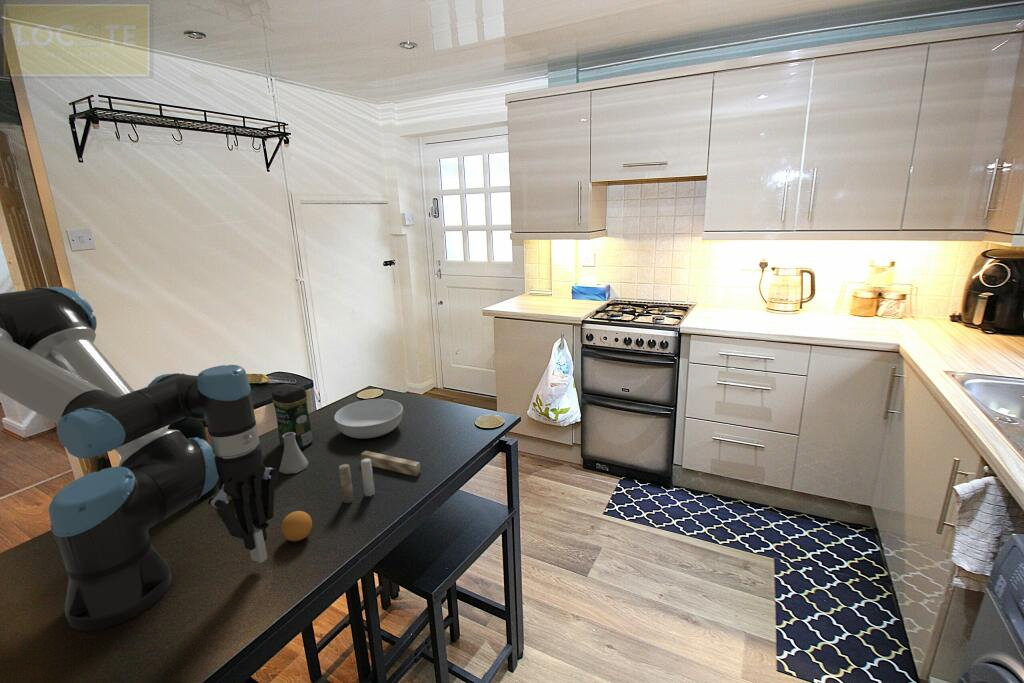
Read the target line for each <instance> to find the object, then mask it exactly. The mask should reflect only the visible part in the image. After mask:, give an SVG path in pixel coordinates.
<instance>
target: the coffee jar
mask: <svg viewBox="0 0 1024 683" xmlns="http://www.w3.org/2000/svg"><path fill="white" fill-rule="evenodd" d="M271 400H272V403H273V407H274V410H275V416H276V423H277V424H276V425H277V431H278V432H277V433H278V438H279V439H278V440H279V443H280V445H281V446H282V447H284V439H283V438H282V436H283V435H284V434H286V433H288V432H294V433H296V435H295V440H296V443H297V445H298V447H299V449H302V448H305V447H308V446H309V445H310V444H312V443H313V442H314V435H313V434H314V433H313V430H312V425H311V421H310V415H309V410H308V409H309V408H308V395H307V391H306V388H304V387H303V386H299V385H295V384H292V383H291V384H290V383H287V382H286V383H283V384H280V385H277V386H274V388H273V389H272V390H271Z"/></svg>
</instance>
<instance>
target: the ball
mask: <svg viewBox="0 0 1024 683" xmlns="http://www.w3.org/2000/svg"><path fill="white" fill-rule="evenodd" d="M312 527H313V520H312V517H311V516H310V514H309V513H307V512H305V511H303V510H296V511H292V512H290V513H288V514H287V515H286V516H285V517H284V519H283V520H282V522H281V528H280V530H281V534H282V536H283V537H284V538H285V539H286V540H288V541H290V542H298V541H301V540H304V539H305V538H307V537H308V536H309V534H310V533H311V530H312V529H313V528H312Z"/></svg>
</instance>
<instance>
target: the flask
mask: <svg viewBox="0 0 1024 683" xmlns="http://www.w3.org/2000/svg"><path fill="white" fill-rule="evenodd" d="M295 435H296V433H294V432H288V433H286V434H284V435H283V436H282V438H283V439H284V446H283V454H282V458H281V461H280V465H279V470H278V472H279V473H282V474H285V475H288V474H298V473H299V472H302V471H303V470H305V469H307V468H308V466H309V464H310V463H309V461H308V459H307V458H306V456H305V455H304V453H303V451H301V450H302V449H301V448H299V447H298V445H297V443H296V440H295Z"/></svg>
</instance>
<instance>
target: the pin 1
mask: <svg viewBox="0 0 1024 683" xmlns="http://www.w3.org/2000/svg"><path fill="white" fill-rule="evenodd" d="M338 471H339V478H340V484H341V485H340V486H341V493H342V501H343V503H344V504H349V503H352V502H353V501H354V500H355V497H354V491H353V483H352V473H351V466H350V464H349V463H343V464H340V465H339V466H338Z"/></svg>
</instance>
